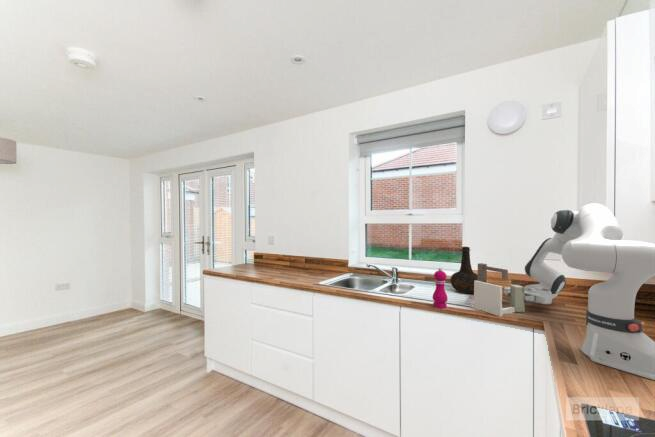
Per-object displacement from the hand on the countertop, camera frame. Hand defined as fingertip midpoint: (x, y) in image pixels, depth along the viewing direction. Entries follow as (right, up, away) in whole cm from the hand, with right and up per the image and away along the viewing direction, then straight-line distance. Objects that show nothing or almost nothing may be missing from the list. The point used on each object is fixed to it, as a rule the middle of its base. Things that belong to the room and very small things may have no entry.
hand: (516, 296), depth 146 cm
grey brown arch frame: (-11, -7, +2) cm, 13 cm away
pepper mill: (-36, -7, +6) cm, 37 cm away
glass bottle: (-8, -7, +36) cm, 38 cm away
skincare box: (+1, -7, 0) cm, 7 cm away
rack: (-11, -7, -1) cm, 13 cm away
